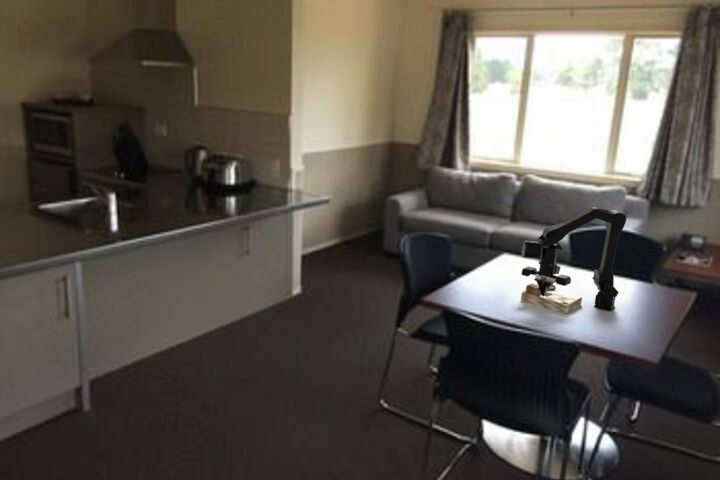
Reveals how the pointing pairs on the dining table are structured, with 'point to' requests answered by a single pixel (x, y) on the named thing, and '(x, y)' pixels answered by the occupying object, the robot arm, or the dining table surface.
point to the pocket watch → (552, 287)
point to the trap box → (553, 301)
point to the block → (533, 289)
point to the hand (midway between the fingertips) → (543, 296)
